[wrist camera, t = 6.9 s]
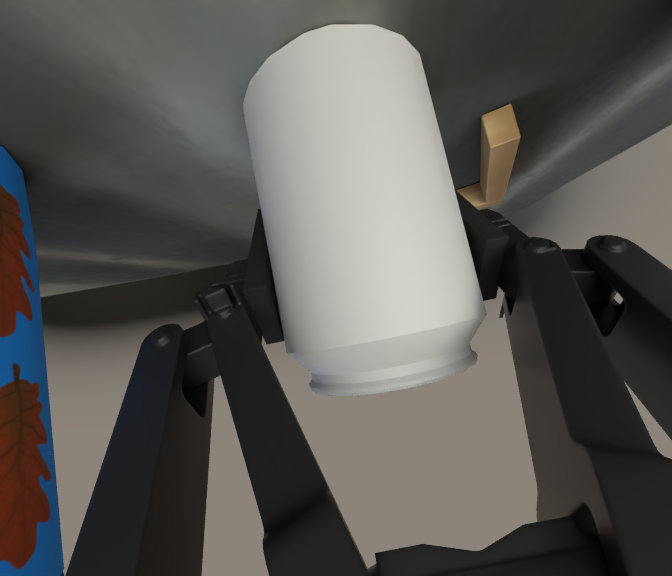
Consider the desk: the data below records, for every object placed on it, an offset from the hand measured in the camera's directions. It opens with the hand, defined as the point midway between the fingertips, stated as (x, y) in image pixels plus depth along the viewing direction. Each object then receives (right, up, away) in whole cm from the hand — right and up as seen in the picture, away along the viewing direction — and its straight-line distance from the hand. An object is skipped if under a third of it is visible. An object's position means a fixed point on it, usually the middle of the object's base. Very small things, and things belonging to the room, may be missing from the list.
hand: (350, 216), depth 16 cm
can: (-1, +5, -3) cm, 6 cm away
